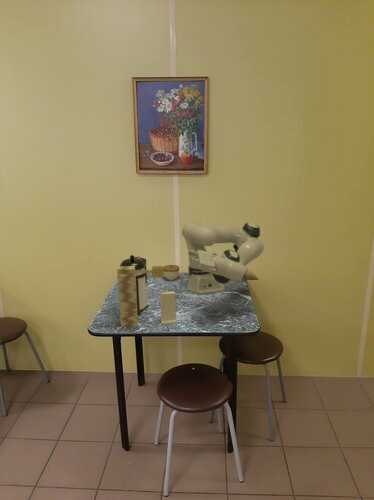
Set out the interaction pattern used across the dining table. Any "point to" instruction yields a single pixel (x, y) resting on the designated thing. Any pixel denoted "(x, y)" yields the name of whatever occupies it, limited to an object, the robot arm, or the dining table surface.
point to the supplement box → (145, 266)
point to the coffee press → (138, 281)
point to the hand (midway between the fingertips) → (188, 255)
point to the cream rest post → (168, 308)
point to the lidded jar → (171, 272)
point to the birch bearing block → (127, 295)
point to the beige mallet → (153, 271)
